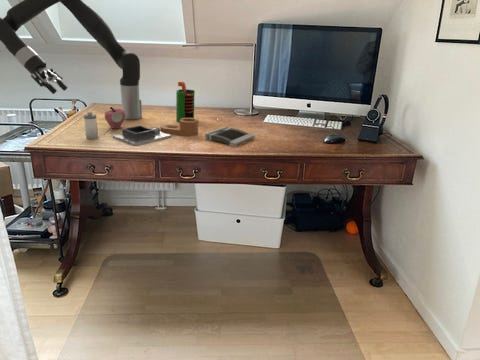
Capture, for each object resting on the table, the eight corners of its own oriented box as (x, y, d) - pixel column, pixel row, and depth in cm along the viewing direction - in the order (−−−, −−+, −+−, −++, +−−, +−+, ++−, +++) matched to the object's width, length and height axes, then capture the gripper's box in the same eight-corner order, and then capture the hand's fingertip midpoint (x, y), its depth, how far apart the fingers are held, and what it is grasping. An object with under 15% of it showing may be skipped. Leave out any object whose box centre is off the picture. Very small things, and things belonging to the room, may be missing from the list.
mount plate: (149, 129, 186) (149, 121, 185) (171, 137, 177) (171, 128, 175) (112, 137, 172) (112, 128, 171) (134, 145, 163) (133, 136, 161)
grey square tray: (226, 126, 189) (255, 129, 181) (226, 135, 190) (255, 139, 182) (205, 133, 175) (235, 137, 167) (205, 143, 177) (235, 147, 169)
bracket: (199, 133, 187) (200, 118, 184) (194, 137, 179) (194, 122, 176) (164, 129, 190) (164, 115, 187) (157, 133, 182) (157, 118, 180)
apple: (106, 130, 181) (105, 109, 178) (104, 126, 189) (102, 105, 185) (127, 129, 185) (126, 108, 182) (124, 124, 193) (123, 104, 189)
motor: (190, 123, 201) (190, 84, 193) (173, 122, 202) (172, 83, 194) (196, 119, 210) (196, 81, 202) (180, 117, 211) (179, 80, 204)
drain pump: (94, 135, 173) (91, 110, 169) (100, 138, 170) (98, 112, 166) (83, 137, 170) (81, 111, 165) (89, 140, 167) (87, 113, 163)
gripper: (25, 55, 152) (57, 87, 156) (45, 53, 165) (74, 82, 169) (14, 68, 155) (46, 99, 158) (35, 65, 168) (64, 93, 171)
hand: (60, 90), depth 163 cm, fingers open, 8 cm apart
